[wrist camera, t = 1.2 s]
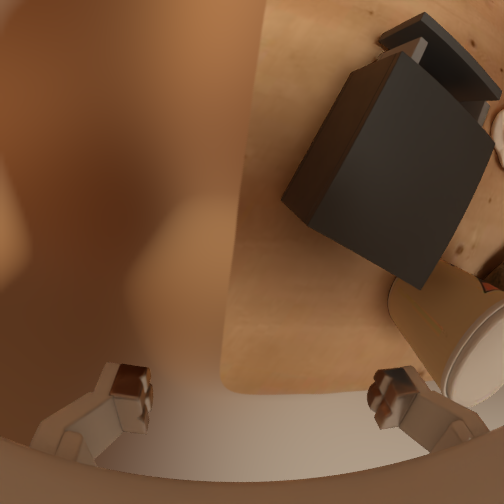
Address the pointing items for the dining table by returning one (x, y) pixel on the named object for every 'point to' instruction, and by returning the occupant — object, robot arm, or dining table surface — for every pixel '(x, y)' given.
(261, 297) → the dining table surface
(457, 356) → the coffee cup
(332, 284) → the dining table surface
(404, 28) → the drawer
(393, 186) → the cabinet
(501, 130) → the rose
